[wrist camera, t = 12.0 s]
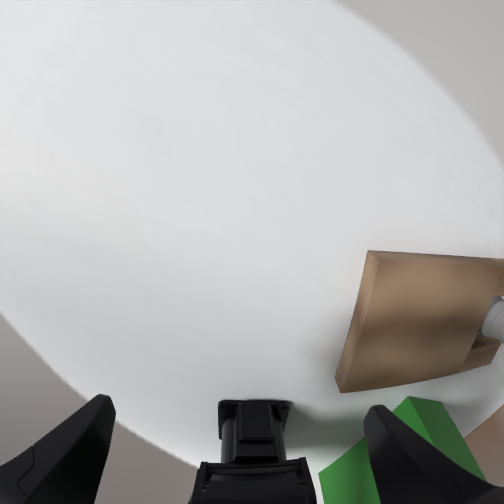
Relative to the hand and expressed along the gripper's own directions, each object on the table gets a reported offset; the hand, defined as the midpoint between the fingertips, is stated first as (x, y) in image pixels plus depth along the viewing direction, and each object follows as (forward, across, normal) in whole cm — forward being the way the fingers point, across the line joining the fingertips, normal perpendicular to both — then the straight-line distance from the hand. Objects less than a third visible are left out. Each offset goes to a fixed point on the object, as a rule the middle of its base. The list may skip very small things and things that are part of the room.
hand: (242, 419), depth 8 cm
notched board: (+12, -19, +4) cm, 23 cm away
